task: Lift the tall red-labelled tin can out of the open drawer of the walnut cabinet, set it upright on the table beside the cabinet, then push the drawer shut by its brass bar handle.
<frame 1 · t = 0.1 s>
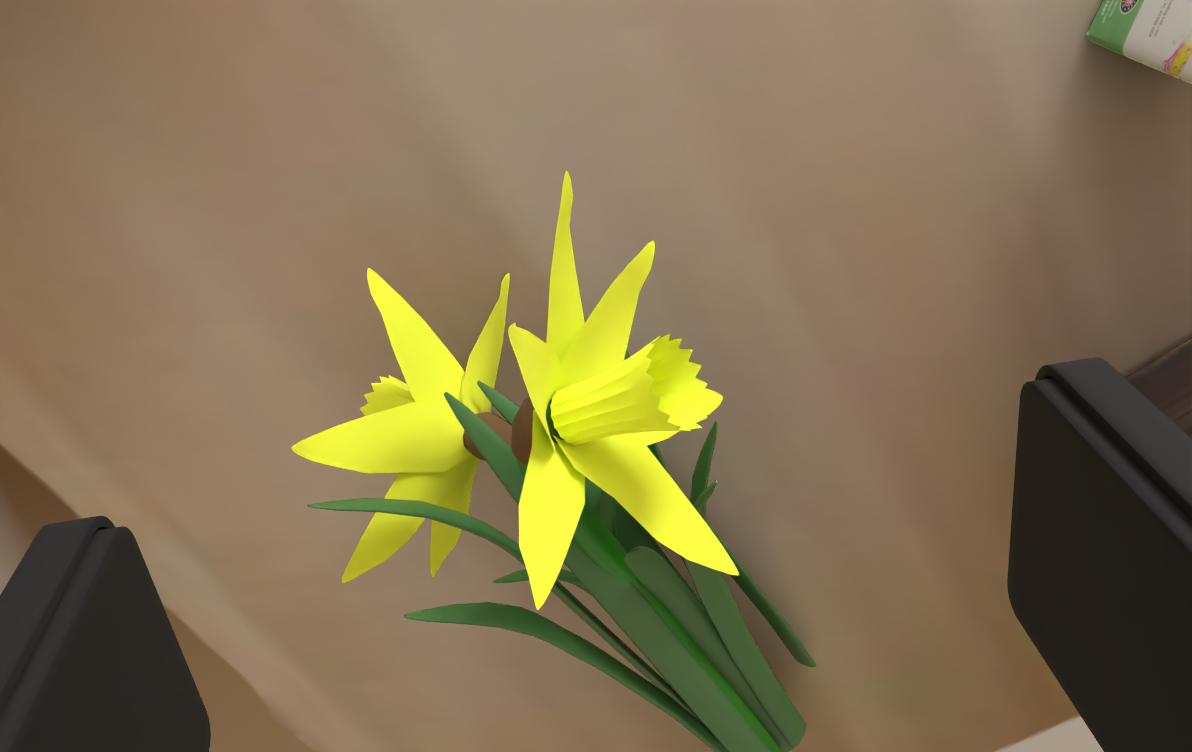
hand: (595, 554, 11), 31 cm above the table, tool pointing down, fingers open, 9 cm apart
daffodil flowers: (636, 474, 49), on the table
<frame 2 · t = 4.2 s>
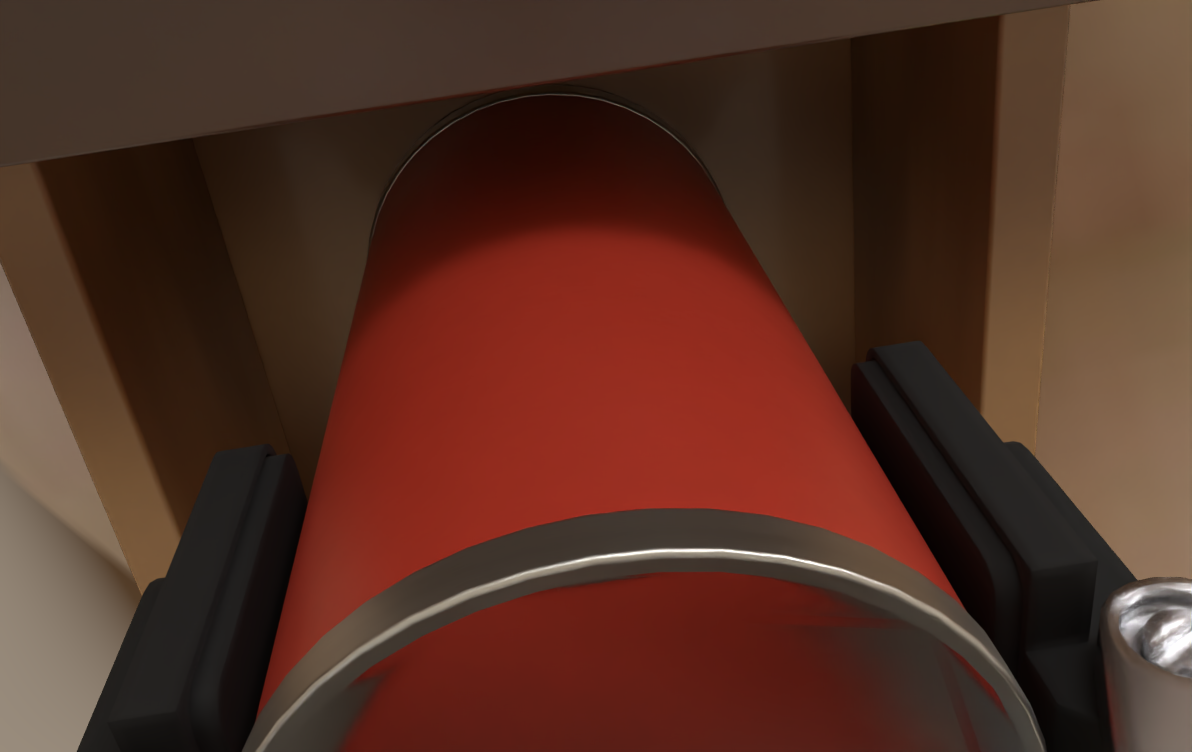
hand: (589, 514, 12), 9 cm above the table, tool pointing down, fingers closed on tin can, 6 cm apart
drawer: (569, 379, 17), point 4 cm above the table, slide at 10.0 cm, touching tin can
tin can: (551, 264, 19), point 2 cm above the table, touching drawer, gripper
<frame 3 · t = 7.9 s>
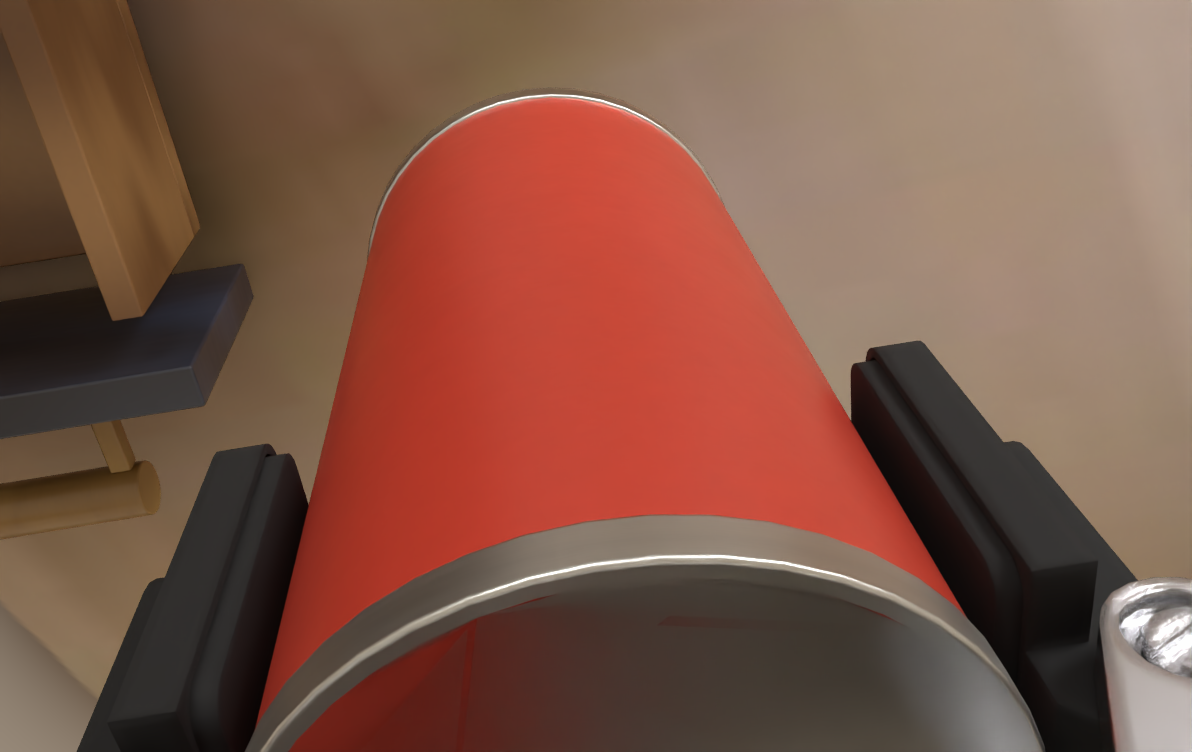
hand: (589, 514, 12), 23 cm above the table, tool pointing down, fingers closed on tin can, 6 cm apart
tin can: (551, 267, 19), point 16 cm above the table, touching gripper
when the fingers open (7 cm above the table, at t = 11.7 s): tin can stays where it is, on the table.
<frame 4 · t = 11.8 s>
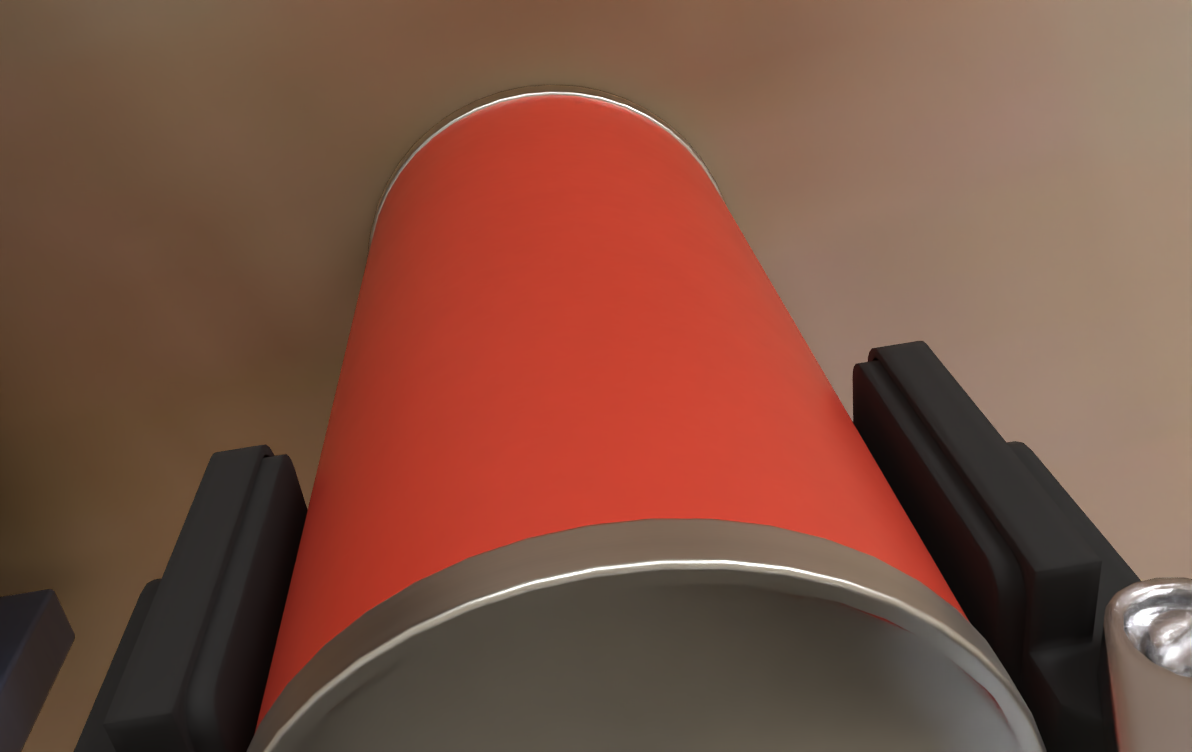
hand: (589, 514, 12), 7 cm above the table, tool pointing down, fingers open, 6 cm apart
tin can: (552, 264, 18), on the table
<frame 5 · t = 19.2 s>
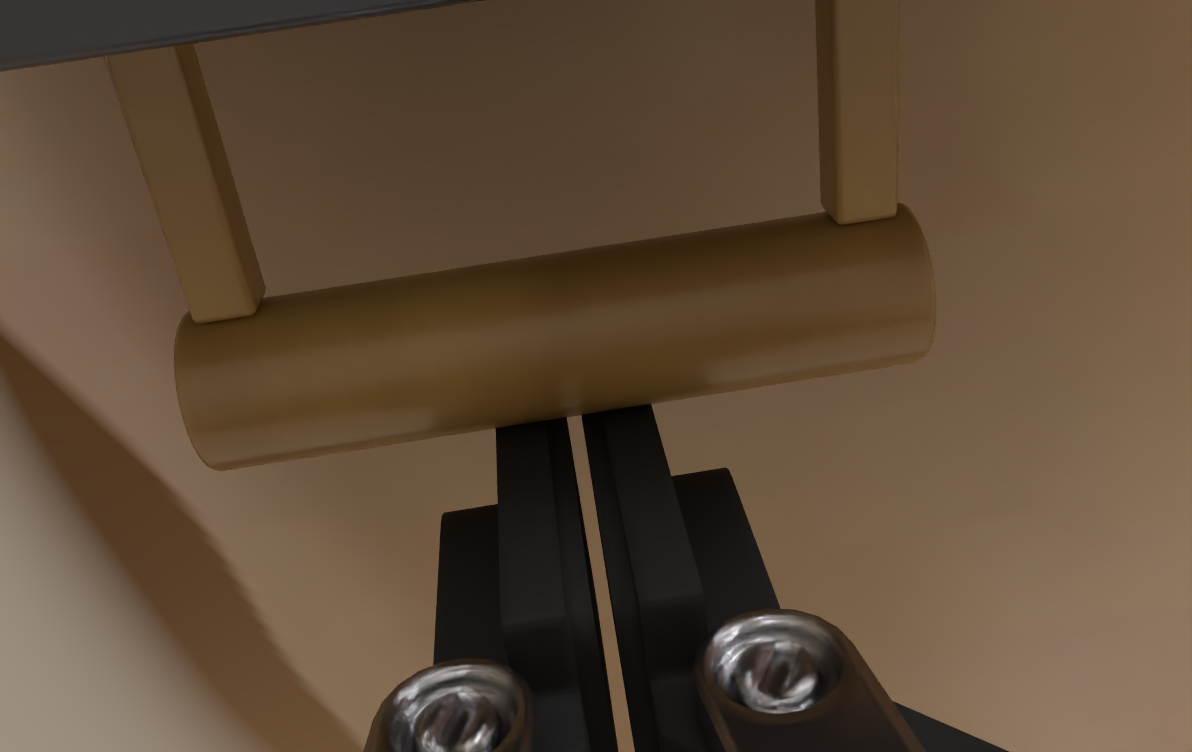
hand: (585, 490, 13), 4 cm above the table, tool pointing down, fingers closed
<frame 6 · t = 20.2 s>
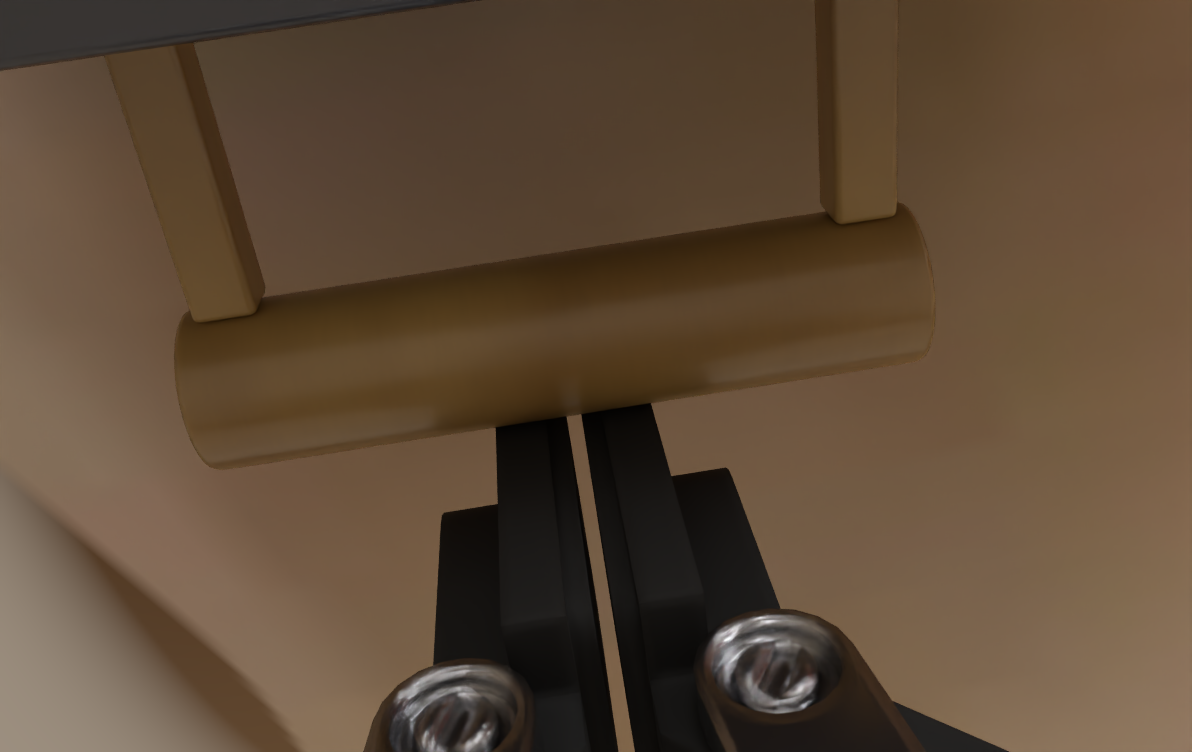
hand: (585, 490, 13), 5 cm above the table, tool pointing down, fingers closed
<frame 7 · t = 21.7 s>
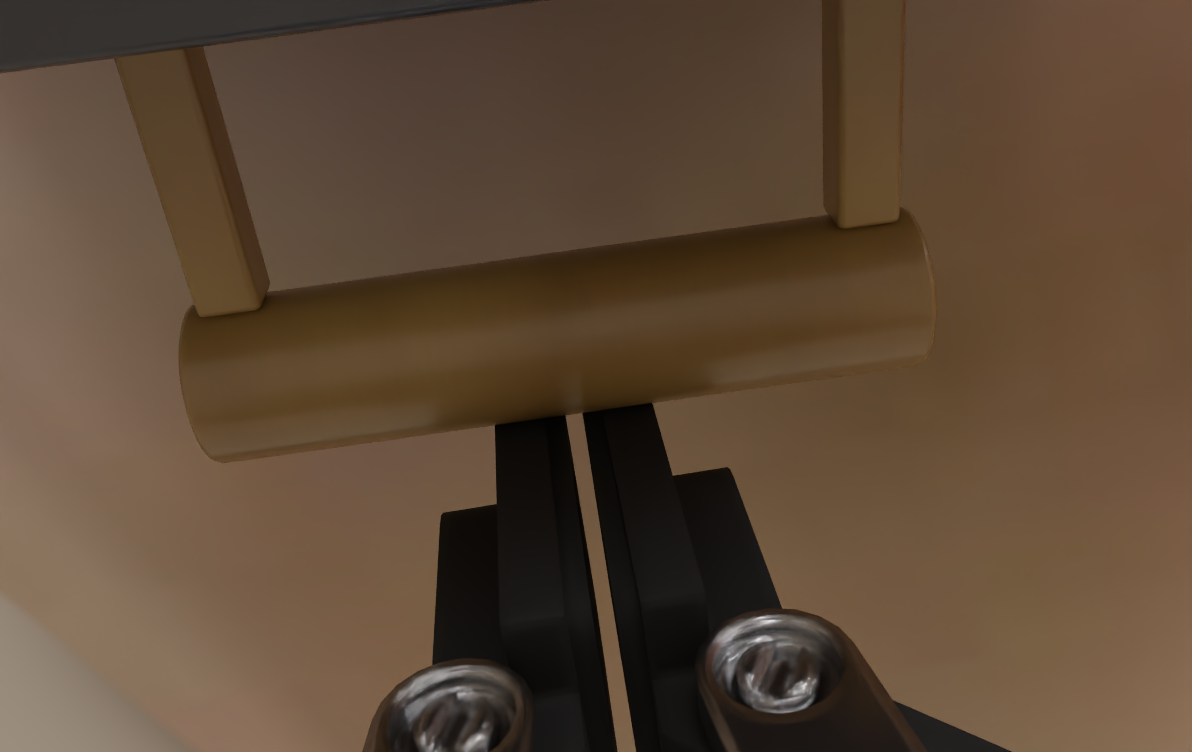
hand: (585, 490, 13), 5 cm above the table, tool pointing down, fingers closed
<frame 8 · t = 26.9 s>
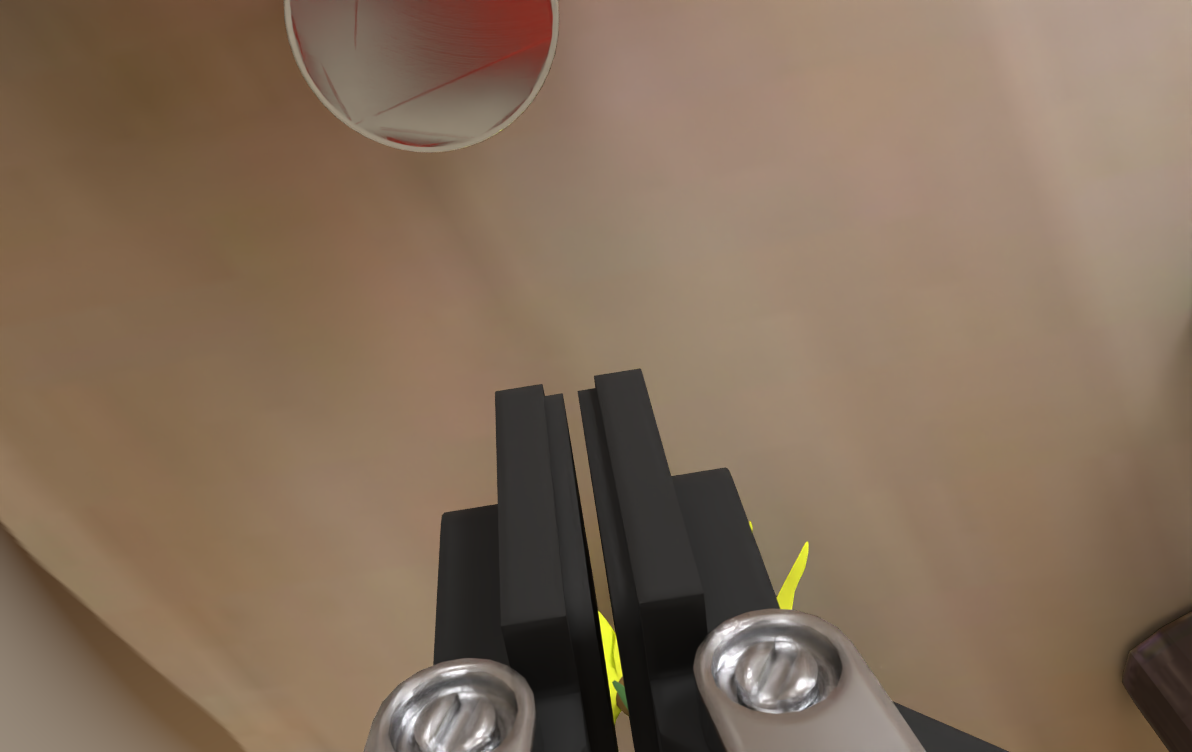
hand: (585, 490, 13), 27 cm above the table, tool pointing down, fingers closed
daffodil flowers: (752, 686, 52), on the table
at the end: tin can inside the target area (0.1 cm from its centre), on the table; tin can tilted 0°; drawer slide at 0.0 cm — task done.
